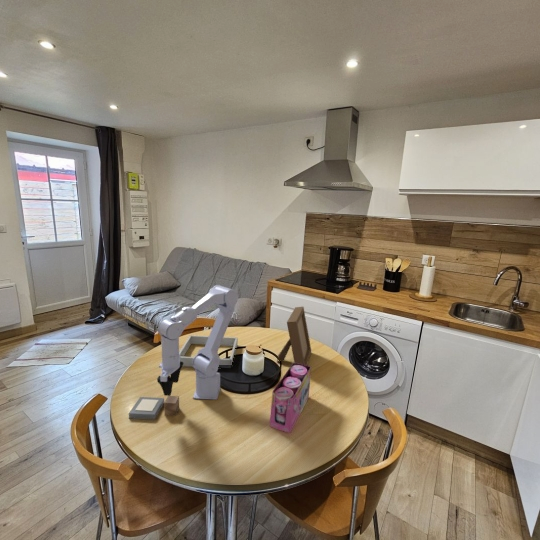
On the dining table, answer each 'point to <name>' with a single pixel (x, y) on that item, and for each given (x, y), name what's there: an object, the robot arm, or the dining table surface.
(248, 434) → the dining table surface
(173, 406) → the walnut block
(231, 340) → the grey corral
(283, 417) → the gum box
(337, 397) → the dining table surface
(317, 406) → the dining table surface
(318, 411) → the dining table surface
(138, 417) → the plate
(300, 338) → the photo frame
